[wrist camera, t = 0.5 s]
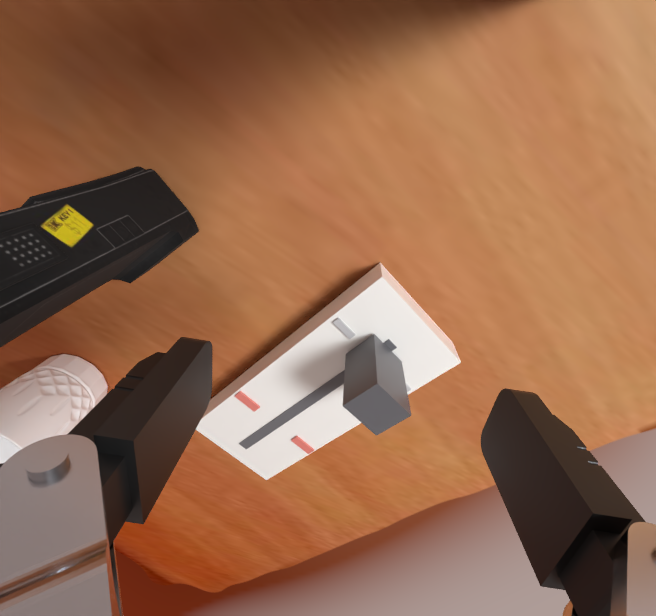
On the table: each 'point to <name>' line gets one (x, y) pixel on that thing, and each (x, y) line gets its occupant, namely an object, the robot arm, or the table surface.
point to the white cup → (47, 401)
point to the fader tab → (375, 386)
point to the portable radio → (84, 243)
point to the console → (322, 375)
